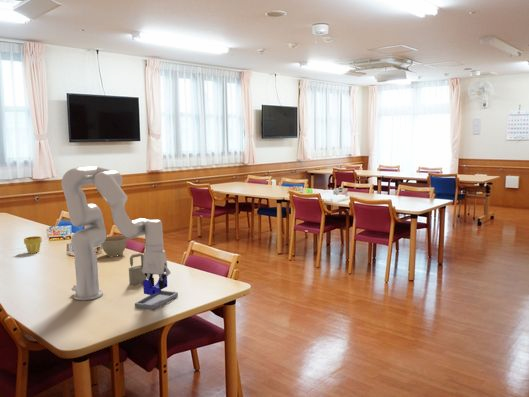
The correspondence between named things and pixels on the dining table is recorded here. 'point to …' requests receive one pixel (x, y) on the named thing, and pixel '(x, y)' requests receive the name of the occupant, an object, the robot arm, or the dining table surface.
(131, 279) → the padlock
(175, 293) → the grey rectangular tray
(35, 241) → the plant pot
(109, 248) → the planter bowl
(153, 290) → the cable clip
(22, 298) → the dining table surface
